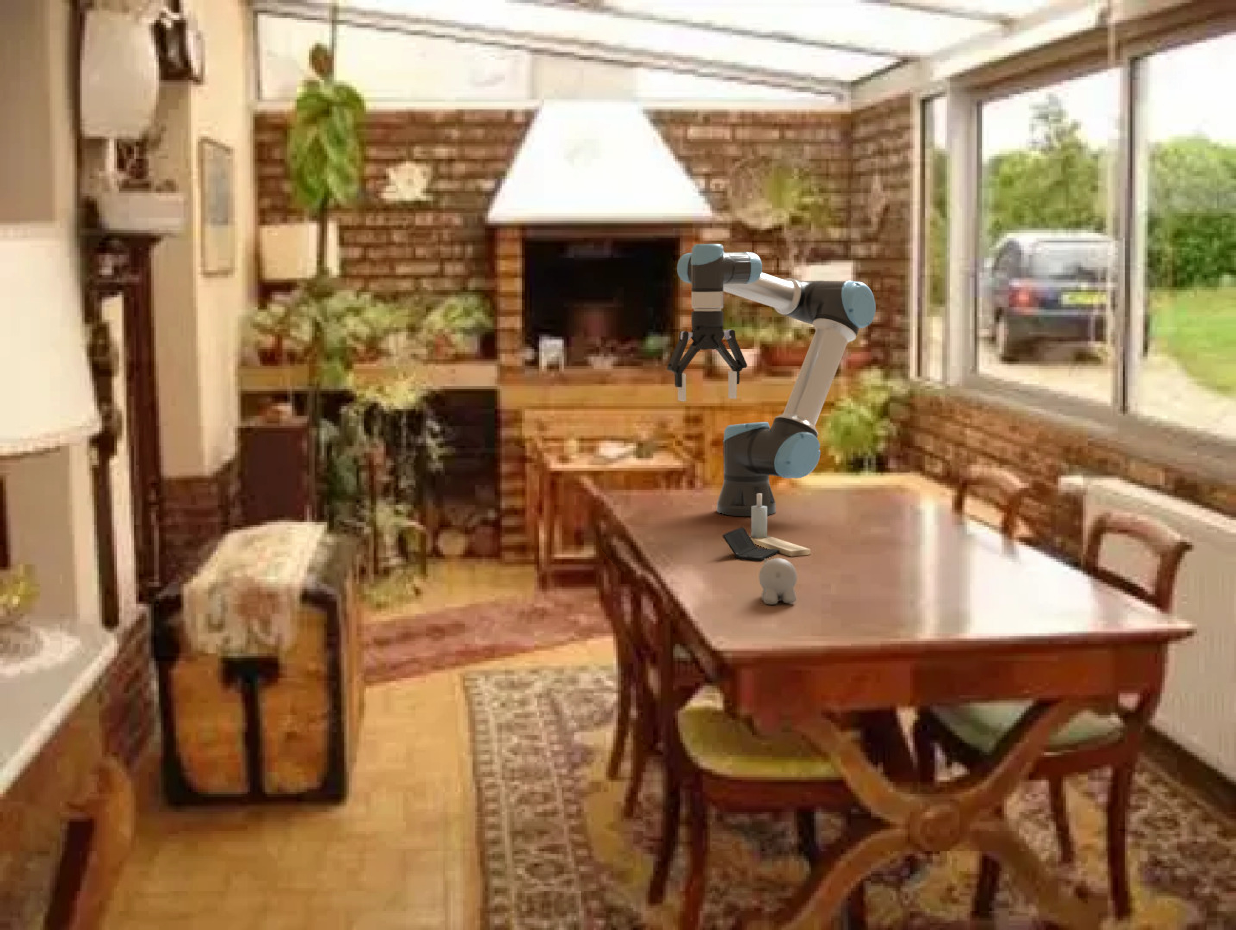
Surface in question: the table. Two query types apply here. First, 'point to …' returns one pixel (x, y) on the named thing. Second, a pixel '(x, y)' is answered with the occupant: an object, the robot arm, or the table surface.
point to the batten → (781, 546)
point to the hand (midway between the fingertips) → (707, 399)
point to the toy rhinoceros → (778, 581)
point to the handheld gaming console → (746, 546)
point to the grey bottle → (759, 519)
